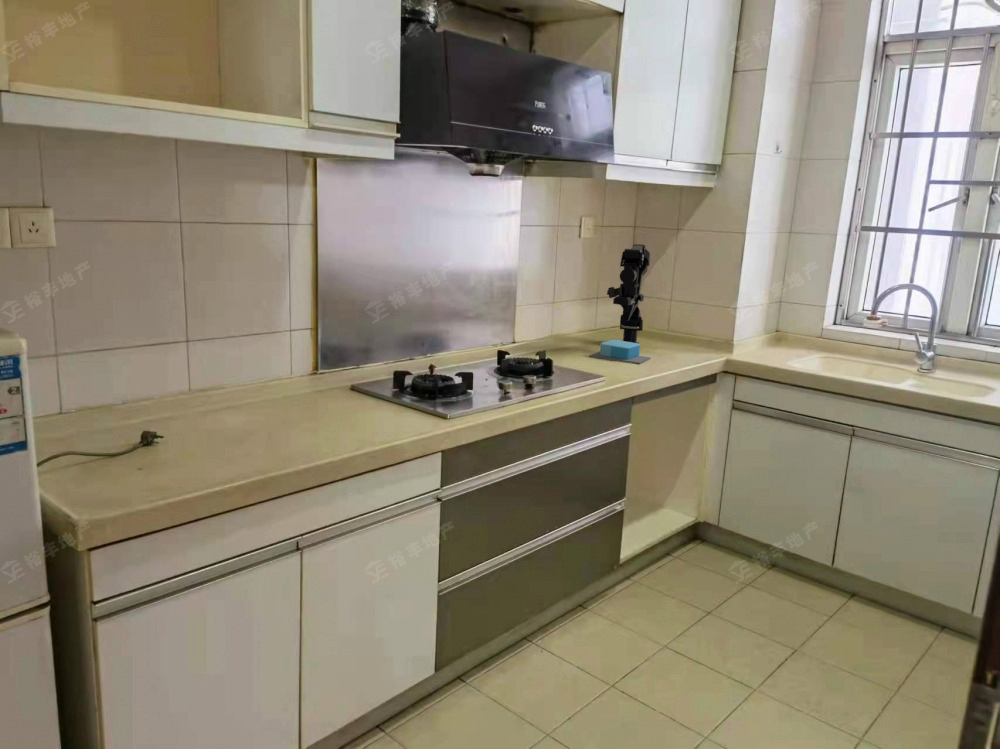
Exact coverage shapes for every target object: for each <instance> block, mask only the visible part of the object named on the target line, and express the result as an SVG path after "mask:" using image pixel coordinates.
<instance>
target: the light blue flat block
mask: <svg viewBox="0 0 1000 749" xmlns="http://www.w3.org/2000/svg"><path fill="white" fill-rule="evenodd" d="M599 346H600V347H599V351H600V355H602V356H608V357H613V358H619V359H630V358H633V357H636V356H640V350H641V344H640V343H639V344H638V343H632V342H626V341H623V340H619V339H611V340H608V341H603V342H601V343H600V345H599Z"/></svg>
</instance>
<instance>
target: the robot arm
mask: <svg viewBox="0 0 1000 749" xmlns="http://www.w3.org/2000/svg"><path fill="white" fill-rule="evenodd" d="M621 253H622V254H621V259H620V264H619V266H620V267H622V268H623V270H621V271H620V273H619V280H620V281H621V282H622V283H620V284H619V285H620V286H619V287H616V288H615V286H611V287H608V289H607V293H606V295H608V298H609V299H611V298H613V300H612V303H613V304H614V305H620V307H621V308H622V314H621V315H620V317H619V318H620V319H619V330H623V334H622V341H626V342H632V343H638V344H640V342H639V341H638V332H642V331H643V330H644V329H643V327H644V320H643V318H642V316H641V310H640V308H639V303H640V302H644V300H645V299H644V295H643V293H641V290H642V283H643V277H644V275H645V274H646V273H647V272H648V268H649V267H650V264H651V253H650V252H649V251H648V249H646V245H644V244H638V243H634V244H632V247H631V248H625V249H624V251H622V252H621Z"/></svg>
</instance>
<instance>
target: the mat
mask: <svg viewBox="0 0 1000 749" xmlns="http://www.w3.org/2000/svg"><path fill="white" fill-rule="evenodd" d="M589 357H590V358H596V359H603V360H609V361H614V362H622V363H628V364H636V365H641V364H643V363H645V362H647V361H649V360H651V357H649V356H642V355H639V356H636V357H633V358H630V359H619V358H613V357H608V356H602V355H600V350H599V351H597V352H594V353H592V354H590V355H589Z"/></svg>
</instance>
